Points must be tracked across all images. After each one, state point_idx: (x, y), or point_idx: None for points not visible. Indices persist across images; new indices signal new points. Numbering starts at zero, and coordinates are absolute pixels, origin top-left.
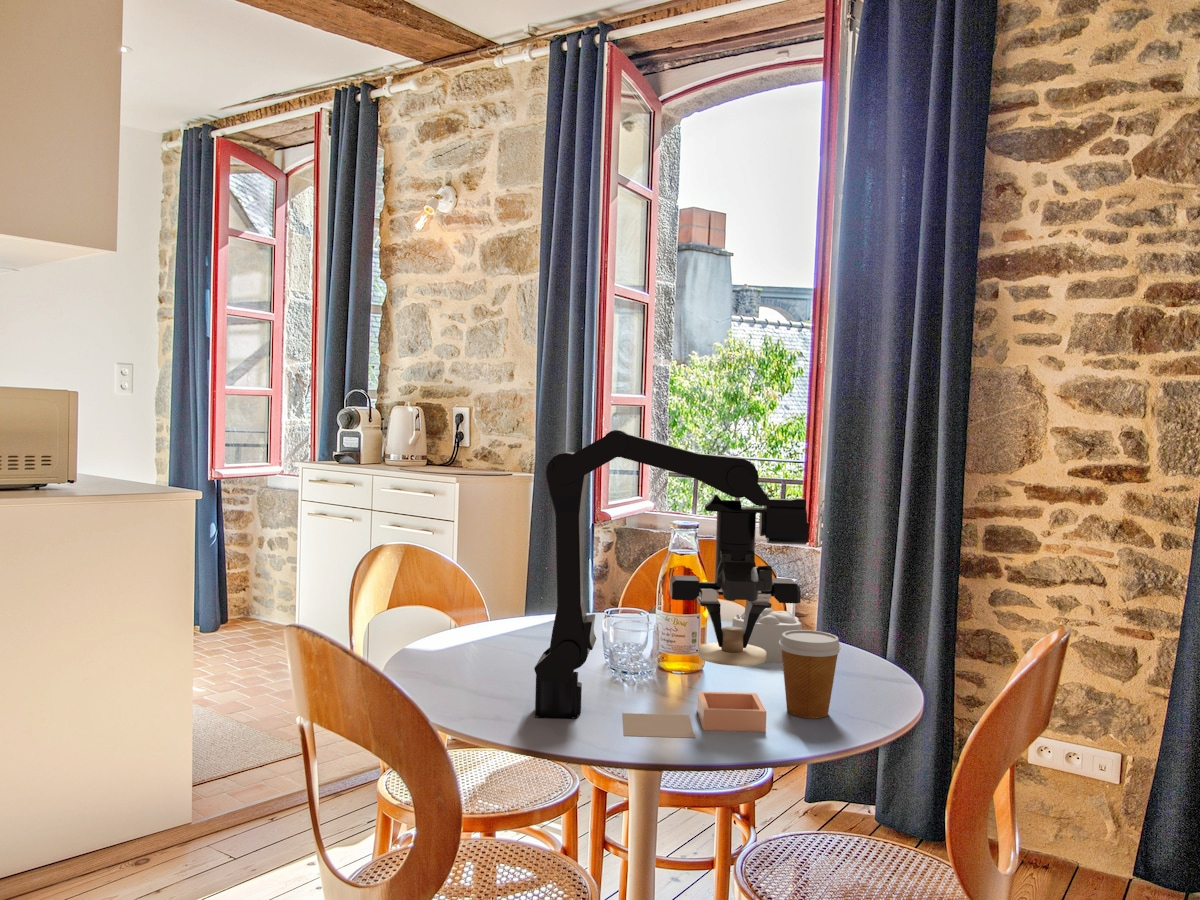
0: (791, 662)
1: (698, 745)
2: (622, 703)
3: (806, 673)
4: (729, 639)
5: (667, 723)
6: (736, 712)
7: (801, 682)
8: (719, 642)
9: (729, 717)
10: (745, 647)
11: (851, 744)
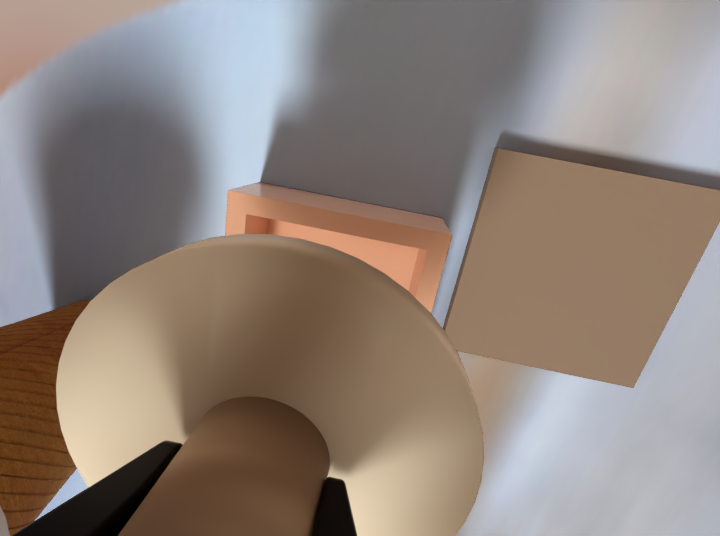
0: (9, 431)
1: (495, 116)
2: (574, 476)
3: None
4: (266, 488)
5: (534, 287)
6: (334, 210)
7: (41, 358)
8: (342, 505)
9: (360, 211)
10: (168, 442)
11: (27, 81)
